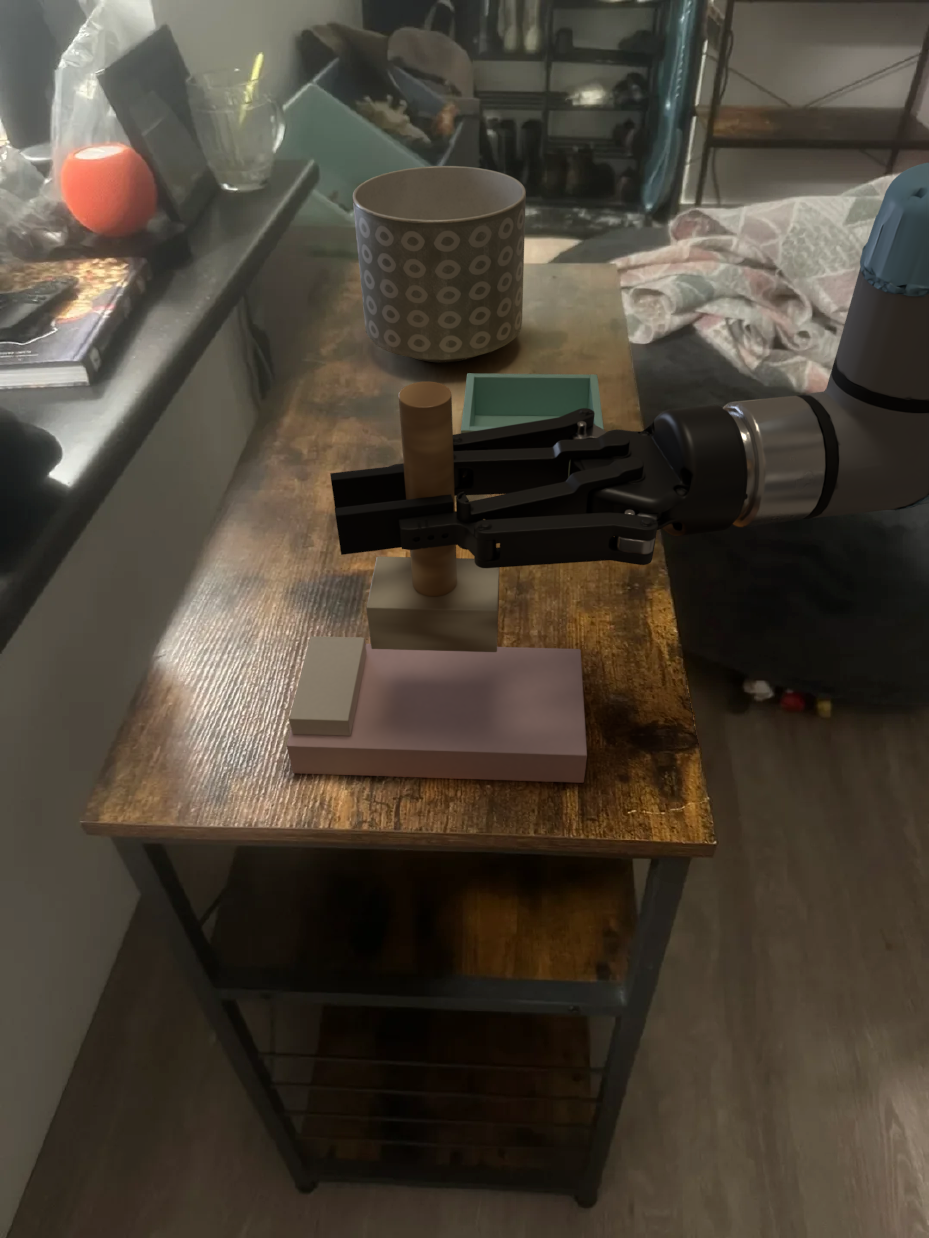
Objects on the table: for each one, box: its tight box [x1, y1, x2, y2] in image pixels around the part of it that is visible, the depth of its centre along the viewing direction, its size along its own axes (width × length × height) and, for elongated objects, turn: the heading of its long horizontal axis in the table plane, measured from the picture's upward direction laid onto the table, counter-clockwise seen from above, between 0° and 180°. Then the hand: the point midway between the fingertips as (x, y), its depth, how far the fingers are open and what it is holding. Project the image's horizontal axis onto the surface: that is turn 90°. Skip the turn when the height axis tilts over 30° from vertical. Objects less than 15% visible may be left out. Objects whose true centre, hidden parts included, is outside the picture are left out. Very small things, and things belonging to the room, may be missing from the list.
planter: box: [352, 165, 527, 364], centre depth 103 cm, size 19×19×18 cm
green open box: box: [460, 372, 605, 478], centre depth 90 cm, size 14×12×5 cm
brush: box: [365, 381, 501, 652], centre depth 52 cm, size 8×5×17 cm, turn 87°
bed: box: [286, 635, 588, 784], centre depth 62 cm, size 20×10×5 cm, turn 87°
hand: (336, 513), depth 50 cm, fingers closed on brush, 3 cm apart
